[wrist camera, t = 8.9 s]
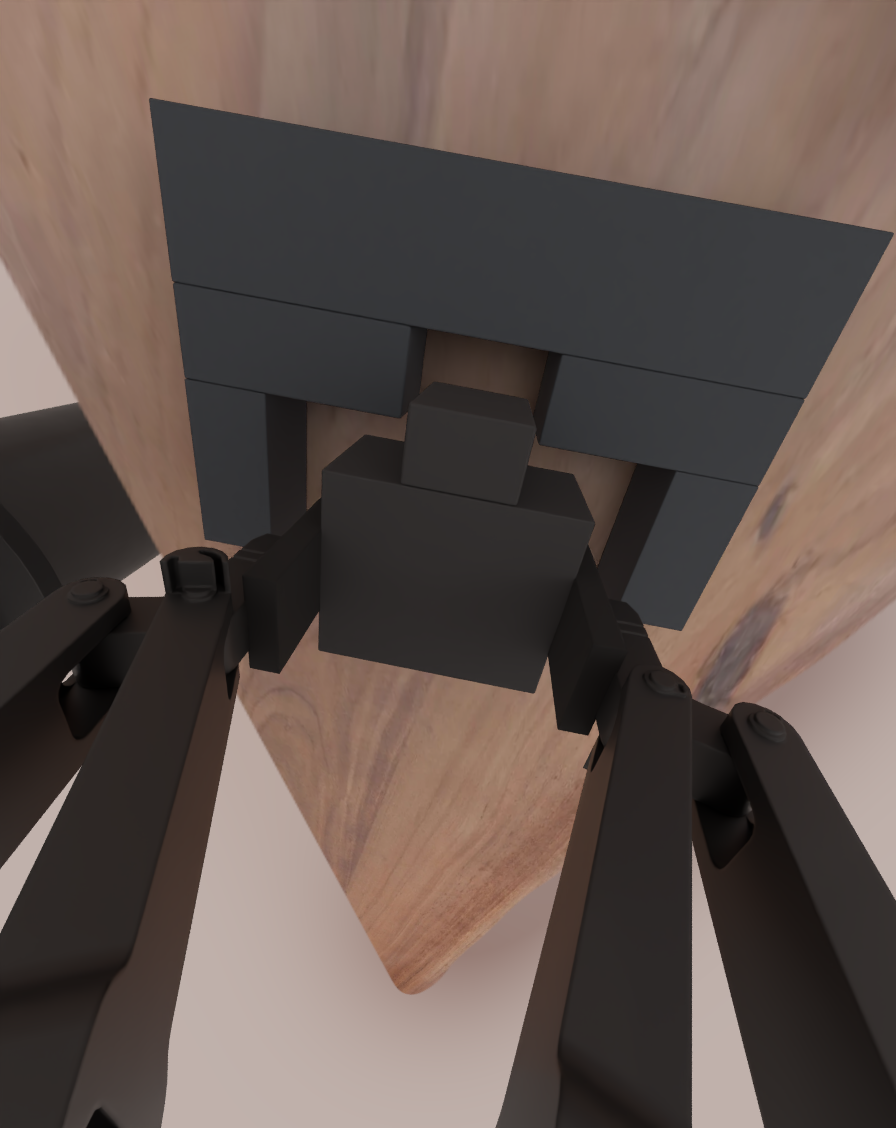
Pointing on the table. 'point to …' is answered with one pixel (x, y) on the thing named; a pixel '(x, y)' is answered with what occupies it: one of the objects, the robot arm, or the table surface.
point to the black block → (450, 543)
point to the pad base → (493, 321)
